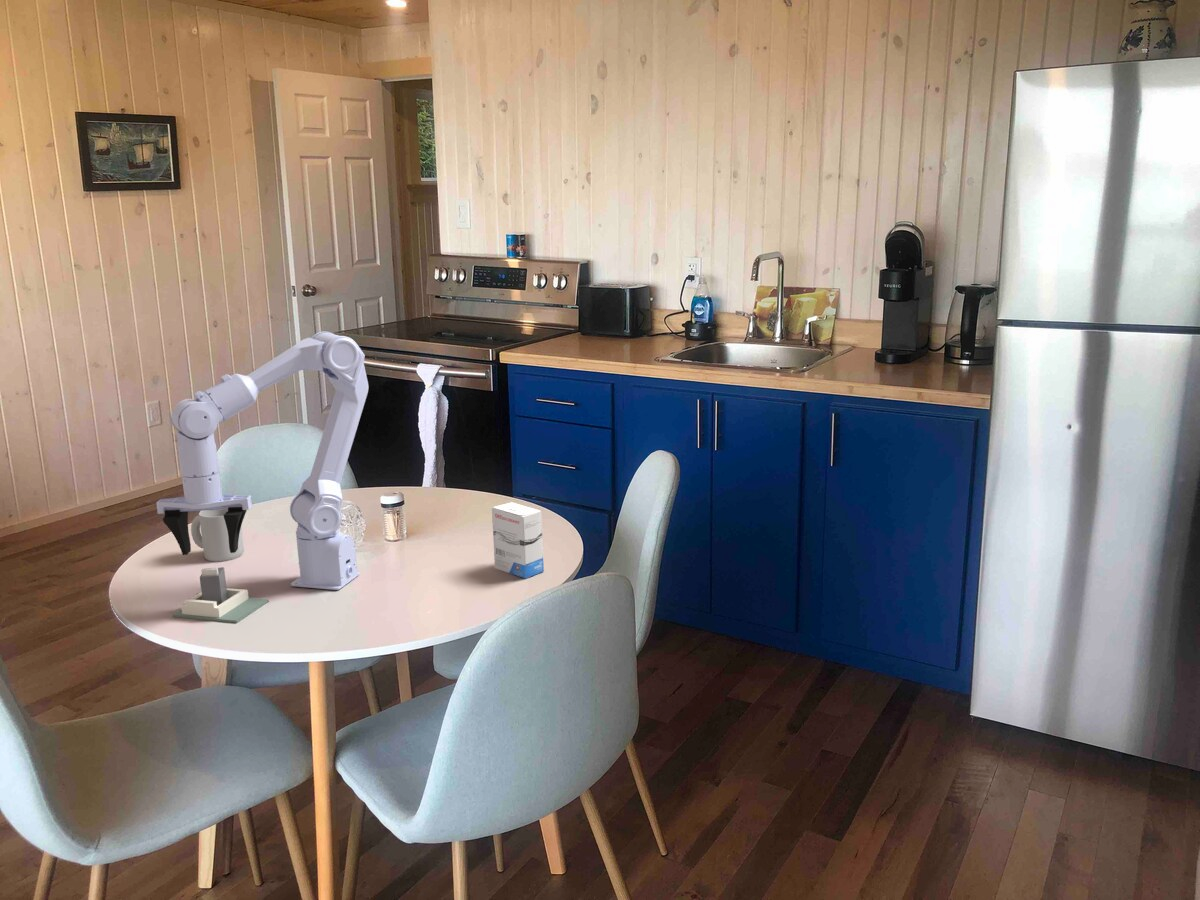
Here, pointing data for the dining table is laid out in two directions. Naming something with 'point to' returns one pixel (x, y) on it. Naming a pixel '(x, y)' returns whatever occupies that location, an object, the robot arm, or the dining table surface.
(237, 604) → the board
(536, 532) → the ink box
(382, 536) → the dining table surface
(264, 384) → the robot arm
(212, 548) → the cup
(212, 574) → the plug
